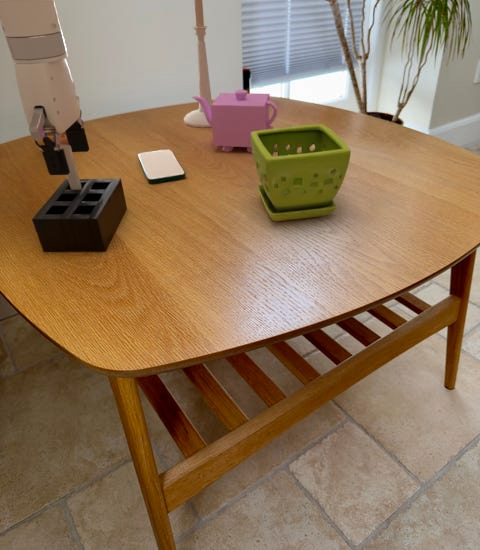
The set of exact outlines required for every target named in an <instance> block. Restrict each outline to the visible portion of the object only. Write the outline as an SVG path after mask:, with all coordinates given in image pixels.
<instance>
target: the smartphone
mask: <svg viewBox="0 0 480 550" xmlns="http://www.w3.org/2000/svg"><path fill="white" fill-rule="evenodd" d="M137 157H138V161H139V163H140V165H141V168H142V170H143V172H144V175H145V177H146V179H147V182H148V183H151V184H152V183H160V182H166V181H172V180H173V181H174V180H179V179H183V178H186V172H185V170H184V168H183V166H182V165H181V164H180V161H179V160H178V159H177V157H176V155H175V153H174V152H173V150H172V149H168V148H167V149H159V150H153V151H146V152H140V153H138V154H137Z"/></svg>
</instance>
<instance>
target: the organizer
mask: <svg viewBox="0 0 480 550" xmlns="http://www.w3.org/2000/svg"><path fill="white" fill-rule="evenodd" d="M79 179H80V183H81V187H82V189H81V190H71V188H70V184H69V181H68V178H65V179H64V180H63V181H62V182H61V184H59V186H58V187H57V189H55V191H53V193H52V195H51V196H50V197H49V198H48V199H47V200H46V202H45V203H44V204H43V205H42V206H41V208H40V209H39V210H38V211H37V212H36V213H35V215H34V216H33V217H32V219H31V221H32V223H33V227H34V229H35V232H36V234H37V238H38V241H39V244H40V247H41V249H42V251H43V252H44V253H52V252H53V253H71V252H72V253H73V252H74V253H75V252H76V253H78V252H81V253H83V252H87V253H88V252H89V253H91V252H100V253H101V252H106V251H107V249H108V247H109V245H110V243H111V242H112V239H113V237H114V235H115V234H116V231H117V230H118V228H119V225H120V224H121V221H122V220H123V218H124V216H125V213H126V211H127V210H128V206H127V201H126V196H125V192H124V191H125V190H124V187H123V182H122V178H79Z"/></svg>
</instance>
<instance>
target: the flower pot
mask: <svg viewBox="0 0 480 550" xmlns="http://www.w3.org/2000/svg"><path fill="white" fill-rule="evenodd" d="M275 145H276V147H275ZM313 145H314V149H312V150H311V147H312V146H313ZM251 146H252V152H251V153H252V157H253V162H254V164H255V165H254V166H255V170H256V172H257V175H258V178H259V181H260V183H261V184H258V185H257V186H256V189H257V192H258V195H259V198H260V199H261V201H262V203H263V205H264V209H266V212H267V214H268V216H269V217H270V219H271V220H272V221H273V222H280V221H282V222H283V221H290V220H292V221H293V220H300V219H301V220H302V219H309V218H318V217H325V216H329V215H332V214H333V213H334V212H336V211H337V209H338V206H337V204H336V202H335V201H334V199H335V197H336V196H337V194H338V193H339V191H340V189H341V187H342V185H343V182H344V180H345V178H346V175H347V171H348V168H349V164H350V159H351V154H352V153H351V151H352V150H351V147H350V146H348V144H347V143H346V142H345V141H344V140H343V139H342V138H341V137H340V136H339V135H338V134H337V133H335V132H334V131H333V130H332V129H330V128H329V127H327V125H325V124H322V123H318V124H306V125H296V126H295V125H294V126H286V127H285V126H284V127H278V128H274V129H267V130H260V131H254V132H251ZM287 146H289V147H288V148H287ZM298 148H301V151H300V152H299V151H298ZM274 153H277V156H276V155H275V156H274Z"/></svg>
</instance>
